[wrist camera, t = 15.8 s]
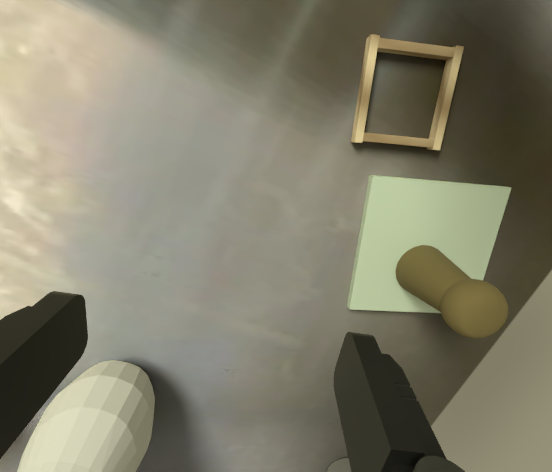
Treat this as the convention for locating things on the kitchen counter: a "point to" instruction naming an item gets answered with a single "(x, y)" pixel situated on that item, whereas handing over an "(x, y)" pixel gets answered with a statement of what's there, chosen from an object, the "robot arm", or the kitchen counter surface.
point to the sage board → (421, 234)
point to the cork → (452, 292)
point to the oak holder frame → (444, 97)
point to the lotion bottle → (340, 466)
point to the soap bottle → (95, 423)
